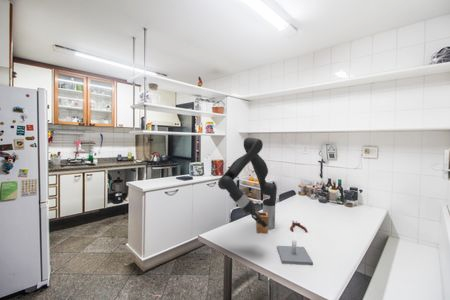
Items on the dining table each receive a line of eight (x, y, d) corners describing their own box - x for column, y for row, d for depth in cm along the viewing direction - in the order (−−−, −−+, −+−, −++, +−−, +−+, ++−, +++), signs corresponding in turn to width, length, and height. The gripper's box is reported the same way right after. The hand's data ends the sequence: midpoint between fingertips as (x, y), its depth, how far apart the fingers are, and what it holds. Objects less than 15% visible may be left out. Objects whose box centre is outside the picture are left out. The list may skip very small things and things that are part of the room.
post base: (276, 247, 129) (277, 234, 129) (303, 249, 128) (304, 235, 128) (282, 263, 113) (282, 247, 113) (312, 265, 112) (313, 249, 112)
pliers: (301, 222, 171) (301, 219, 170) (307, 233, 151) (307, 230, 151) (286, 221, 172) (286, 218, 172) (291, 232, 152) (291, 229, 152)
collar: (256, 228, 127) (256, 212, 126) (266, 229, 126) (267, 212, 126) (256, 233, 120) (257, 216, 120) (267, 233, 120) (268, 216, 119)
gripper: (250, 202, 115) (271, 224, 115) (249, 195, 130) (268, 215, 130) (240, 211, 116) (261, 233, 116) (240, 203, 131) (259, 223, 130)
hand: (265, 223), depth 123 cm, fingers closed on collar, 6 cm apart
